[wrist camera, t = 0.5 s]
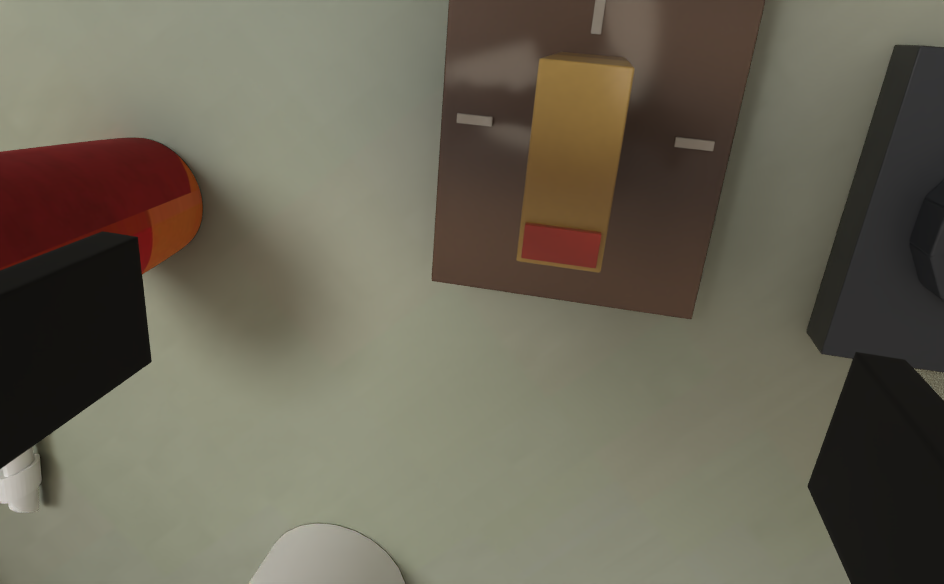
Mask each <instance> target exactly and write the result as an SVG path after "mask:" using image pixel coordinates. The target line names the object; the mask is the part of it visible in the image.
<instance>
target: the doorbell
mask: <svg viewBox="0 0 944 584" xmlns="http://www.w3.org/2000/svg"><path fill="white" fill-rule="evenodd" d="M807 334H808V335H809V337H810V338H811V339H812V341H813V342H814V344H815V345H816V347H817V348H818V350H819V351H820V353H821V354H826V355H832V356H839V357H845V358H852V359H853V358H854V355H855V353H856V352H860V353H866V354H873V355H879V356H885V357H891V358H898V359H904V360H906V361H907V362H908V363H909V364H910V365H911V366H912V367H913V368H918V369H925V370H931V371H938V372H944V47H933V46H920V45H895V47H894V50H893V53H892V56H891V60H890V63H889V66H888V69H887V73H886V76H885V79H884V82H883V86H882V89H881V92H880V95H879V99H878V102H877V105H876V108H875V112H874V115H873V118H872V121H871V125H870V128H869V131H868V134H867V137H866V141H865V144H864V147H863V150H862V154H861V157H860V160H859V163H858V167H857V170H856V173H855V176H854V180H853V183H852V186H851V189H850V193H849V196H848V199H847V202H846V206H845V209H844V212H843V215H842V218H841V222H840V225H839V228H838V231H837V235H836V238H835V241H834V244H833V248H832V251H831V254H830V257H829V261H828V264H827V267H826V270H825V274H824V277H823V280H822V283H821V287H820V290H819V293H818V296H817V299H816V303H815V306H814V309H813V312H812V316H811V319H810V322H809V325H808V329H807Z"/></svg>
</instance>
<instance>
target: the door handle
mask: <svg viewBox="0 0 944 584" xmlns="http://www.w3.org/2000/svg"><path fill="white" fill-rule="evenodd" d="M41 481H42V476H41V465H40V455H39V454H34V453H33V448H32V447H31V448H30V449H28V450H27V451H25V452H24V453H23V454H21V455H20V456H18V457H17V458H15V459H14V460H13V461H11V462H10V463H8V464H7V465H6V466H4V467H3V468H1V469H0V503H8V506H9V508H10V509H11V510H13V511H15V512H20V513H33V512H36V511H38V510H39V491H38V486H39V485H40V483H41Z"/></svg>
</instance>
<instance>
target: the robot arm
mask: <svg viewBox="0 0 944 584" xmlns="http://www.w3.org/2000/svg"><path fill="white" fill-rule="evenodd" d="M149 363H151V352H150V343H149V334H148V325H147V316H146V306H145V297H144V288H143V279H142V270H141V260H140V251H139V242H138V237H136V236H129V235H123V234H117V233H111V232H104V231H102V232H99V233H97V234H94V235H91V236H89V237H86V238H84V239H81V240H78V241H76V242H73V243H70V244H68V245H65V246H63V247H60V248H57V249H55V250H52V251H50V252H47V253H44V254H42V255H39V256H37V257H34V258H31V259H29V260H26V261H23V262H21V263H18V264H16V265H13V266H10V267H8V268H5V269H3V270H0V469H1V468H3V467H4V466H6V465H7V464H8V463H10V462H11V461H13V460H14V459H15V458H17V457H18V456H20V455H21V454H23V453H24V452H25V451H27V450H28V449H30V448H31V447H32V446H34V445H35V444H37V443H38V442H39V441H41V440H42V439H44V438H45V437H46V436H48V435H49V434H51V433H52V432H53V431H55V430H56V429H58V428H59V427H61V426H62V425H63V424H65V423H66V422H68V421H69V420H70V419H72V418H73V417H75V416H76V415H77V414H79V413H80V412H82V411H83V410H84V409H86V408H87V407H89V406H90V405H91V404H93V403H94V402H96V401H97V400H98V399H100V398H101V397H103V396H104V395H106V394H107V393H108V392H110V391H111V390H113V389H114V388H115V387H117V386H118V385H120V384H121V383H122V382H124V381H125V380H127V379H128V378H129V377H131V376H132V375H134V374H135V373H136V372H138V371H139V370H141V369H142V368H144V367H145V366H146V365H148V364H149ZM808 489H809V491H810V493H811V495H812V497H813V500H814V502H815V504H816V506H817V509H818V511H819V513H820V515H821V518H822V520H823V522H824V524H825V526H826V529H827V531H828V533H829V535H830V538H831V540H832V542H833V544H834V547H835V549H836V551H837V553H838V555H839V558H840V560H841V562H842V564H843V567H844V569H845V571H846V573H847V576H848V578H849V580H850V582H851V584H944V401H943V400H942V399H941V398H940V396H939V395H938V394H937V393H936V392H935V391H934V390H933V389H932V388H931V387H930V386H929V385H928V384H927V382H926V381H925V380H924V379H923V378H922V377H921V376H920V375H919V374H918V373H917V372H916V371H915V370H914V368H913V367H912V366H911V365H910V364H909V363H908V362H907V361H906V360H904V359H898V358H891V357H885V356H879V355H873V354H866V353H860V352H856V353H855V355H854V358H853V361H852V364H851V366H850V369H849V372H848V375H847V378H846V380H845V383H844V386H843V389H842V392H841V394H840V397H839V400H838V403H837V405H836V408H835V411H834V414H833V417H832V419H831V422H830V425H829V428H828V431H827V433H826V436H825V439H824V442H823V444H822V447H821V450H820V453H819V456H818V458H817V461H816V464H815V467H814V470H813V472H812V475H811V478H810V481H809V483H808Z"/></svg>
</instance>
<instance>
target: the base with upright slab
mask: <svg viewBox="0 0 944 584" xmlns="http://www.w3.org/2000/svg"><path fill="white" fill-rule="evenodd" d="M249 584H405V582H404V579H403V577H402V575H401V572H400V570H399V568H398V566H397V565H396V564H395V562H394V561H393V560H392V559H391V557H390V556H389V555H388V553H387V552H386V551H384V550H383V549H382V548H381V547H380V546H378V545H377V544H376V543H375V542H374V541H372V540H371V539H369V538H367V537H365V536H363V535H362V534H360V533H358V532H356V531H354V530H351V529H347V528H344V527H341V526H338V525H331V524H321V523H315V524H308V525H301V526H299V527H296V528H294V529H292V530H290V531H287V532H286V533H285V534H284V535H283V536H281V537H280V538H279V539H278V540H277V541H276V542H275V544H274V545H273V547H272V548H271V550H270V552H269V553H268V555H267V556H266V558H265V559H264V561H263V562H262V564H261V565H260V567H259V568H258V570H257V571H256V573H255V574H254V576H253V577H252V579H251V580H250V582H249Z"/></svg>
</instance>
